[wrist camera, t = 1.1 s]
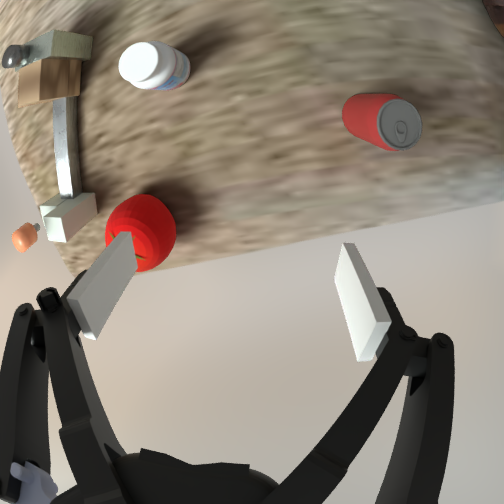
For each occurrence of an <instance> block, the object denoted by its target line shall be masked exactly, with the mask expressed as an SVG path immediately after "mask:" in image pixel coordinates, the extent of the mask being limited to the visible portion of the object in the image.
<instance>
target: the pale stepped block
mask: <svg viewBox="0 0 504 504" xmlns="http://www.w3.org/2000/svg"><path fill="white" fill-rule="evenodd" d="M40 209H41V214H42V218H43V223H44V227H45V228H46V232H47V236H48V239H49V240H50V241H58V242H67V241H69V240H70V239H71V238H72V237H73V236H74V235H75V234H76V233H77V232H78V231H79V230H80V229H82V228H83V227H84V226H85V225H86V224H87V223H88V222H89V221H90V220H92V219H93V218H94V217H95V216H96V215H97V214H98V213H97V206H96V199H95V193H82V194H80V195H79V196H77V197H76V198H74V199H61V196H60V193H59V194H57V195H55V196H54V197H52V198H51V199H49V200H48V201H46V202H45V203H43V204H42V205H40Z"/></svg>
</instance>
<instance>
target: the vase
mask: <svg viewBox="0 0 504 504" xmlns="http://www.w3.org/2000/svg"><path fill="white" fill-rule="evenodd" d="M482 1H483V3H484V5H485V7H486V9H487V11H488V13H489V16H490V18H491V19H492V21H493V23H494V25H495V27H496V28H497V29H498V31H499V32H500V34H501V35H502V36H503V37H504V0H482Z"/></svg>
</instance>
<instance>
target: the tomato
mask: <svg viewBox="0 0 504 504" xmlns="http://www.w3.org/2000/svg"><path fill="white" fill-rule="evenodd" d="M121 231H122V232H131V236H132V241H133V246H134V251H135V256H136V261H137V265H138V269H137V270H136V272H143V271H147V270H150V269H153V268H154V267H156V266H158V265H159V264H161V263H162V262H163V261H164V260H165V259H166V258H167V257H168V255H169V253H170V252H171V250H172V249H173V246H174V244H175V240H176V224H175V221H174V218H173V216H172V215H171V213H170V212H169V210H168V209H167V207H166V206H165V205H164V204H163V203H162V202H161V201H160V200H159V199H157V198H155V197H154V196H151V195H146V194H138V195H135V196H133V197H131V198H129V199H127V200H125V201H124V202H123V203H121V204H120V205H118V206H117V207H116V208H115V209H114V211H113V212H112V214H111V215H110V217H109V219H108V222H107V225H106V231H105V241H106V247H107V246H108V245H109V244H110V243H111V242H112V241H113V240H114V238H115V237H116V236H117V235H118V234H119V233H120V232H121Z"/></svg>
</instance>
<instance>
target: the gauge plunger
mask: <svg viewBox="0 0 504 504" xmlns="http://www.w3.org/2000/svg"><path fill="white" fill-rule="evenodd" d="M39 230H40V225H39V224H38V223H36V224H35V225H32V224H30V223H25V224H24V225H23V226H21V227H20V228H19V229H18V230H16V231H15V232H14V233H13V234H12V241H13V244H14V246H15V247H16V249H17V250H18V251H20V252H25V251H26V250H27V249H28V248H29V247H30V246H31V245H33V244H34V243H35V242H36V241H37V231H39Z"/></svg>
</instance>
